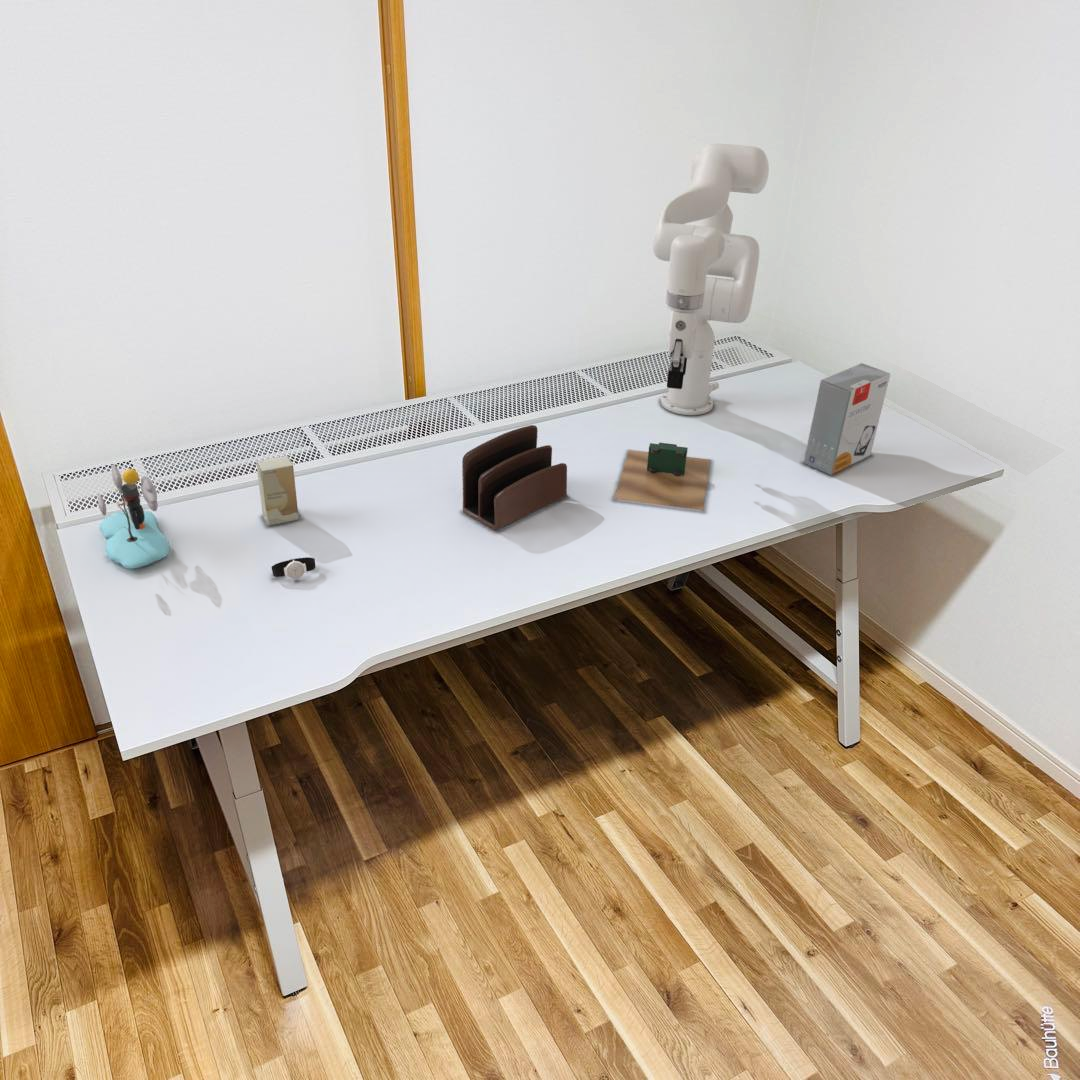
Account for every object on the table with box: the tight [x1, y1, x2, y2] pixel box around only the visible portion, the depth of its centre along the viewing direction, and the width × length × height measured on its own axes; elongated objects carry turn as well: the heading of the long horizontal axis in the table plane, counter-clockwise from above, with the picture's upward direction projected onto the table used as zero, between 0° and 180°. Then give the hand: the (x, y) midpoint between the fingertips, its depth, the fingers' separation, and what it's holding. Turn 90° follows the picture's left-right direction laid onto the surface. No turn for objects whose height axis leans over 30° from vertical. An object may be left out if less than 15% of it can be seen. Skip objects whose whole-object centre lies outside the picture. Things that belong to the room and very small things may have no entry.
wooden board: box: [613, 449, 711, 512], centre depth 208 cm, size 22×18×1 cm
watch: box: [271, 556, 316, 580], centre depth 176 cm, size 8×5×4 cm, turn 114°
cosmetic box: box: [255, 455, 300, 526], centre depth 189 cm, size 6×4×12 cm
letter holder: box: [461, 424, 568, 531], centre depth 195 cm, size 10×20×14 cm, turn 135°
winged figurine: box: [97, 463, 170, 570], centre depth 179 cm, size 20×11×15 cm, turn 28°
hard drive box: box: [803, 362, 891, 476], centre depth 213 cm, size 16×8×20 cm, turn 131°
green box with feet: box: [647, 442, 689, 476], centre depth 210 cm, size 8×4×6 cm, turn 78°
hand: (676, 380), depth 209 cm, fingers open, 6 cm apart
